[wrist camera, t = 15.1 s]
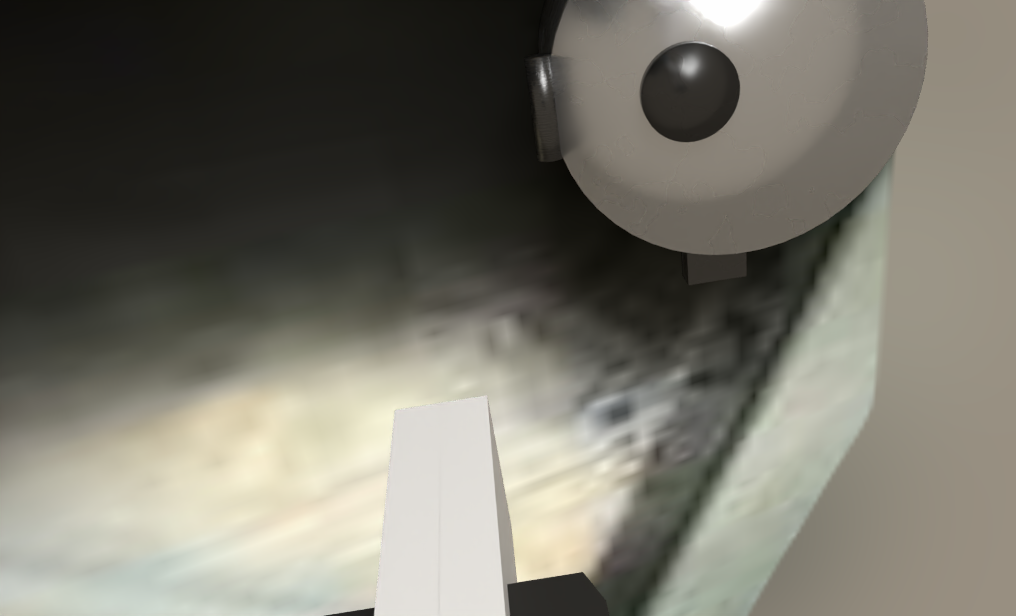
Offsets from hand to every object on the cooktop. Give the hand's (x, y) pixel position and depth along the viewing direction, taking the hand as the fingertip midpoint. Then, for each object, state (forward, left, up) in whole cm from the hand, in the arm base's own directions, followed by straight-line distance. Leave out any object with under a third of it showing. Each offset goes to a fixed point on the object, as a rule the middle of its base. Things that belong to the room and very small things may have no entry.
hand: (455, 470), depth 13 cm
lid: (+12, 0, -24) cm, 27 cm away
